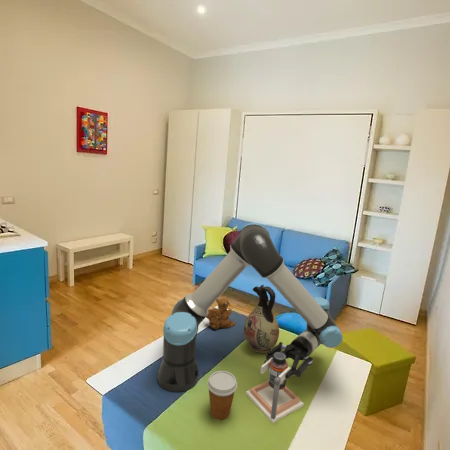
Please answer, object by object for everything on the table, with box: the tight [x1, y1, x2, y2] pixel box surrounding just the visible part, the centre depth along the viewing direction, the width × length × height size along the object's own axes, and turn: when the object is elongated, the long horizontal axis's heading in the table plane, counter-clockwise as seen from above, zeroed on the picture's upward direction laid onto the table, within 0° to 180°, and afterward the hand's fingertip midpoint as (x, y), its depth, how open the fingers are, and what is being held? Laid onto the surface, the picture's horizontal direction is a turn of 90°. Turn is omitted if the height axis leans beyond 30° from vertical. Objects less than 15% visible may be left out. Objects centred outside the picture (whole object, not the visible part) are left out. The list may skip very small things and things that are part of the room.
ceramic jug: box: [243, 284, 280, 354], centre depth 132 cm, size 17×15×30 cm
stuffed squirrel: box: [205, 298, 236, 330], centre depth 150 cm, size 10×14×13 cm
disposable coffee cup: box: [207, 370, 238, 421], centre depth 99 cm, size 10×10×12 cm
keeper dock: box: [245, 377, 305, 424], centre depth 105 cm, size 14×14×16 cm
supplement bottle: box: [267, 352, 289, 390], centre depth 104 cm, size 6×6×11 cm
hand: (270, 375), depth 100 cm, fingers closed on supplement bottle, 6 cm apart
